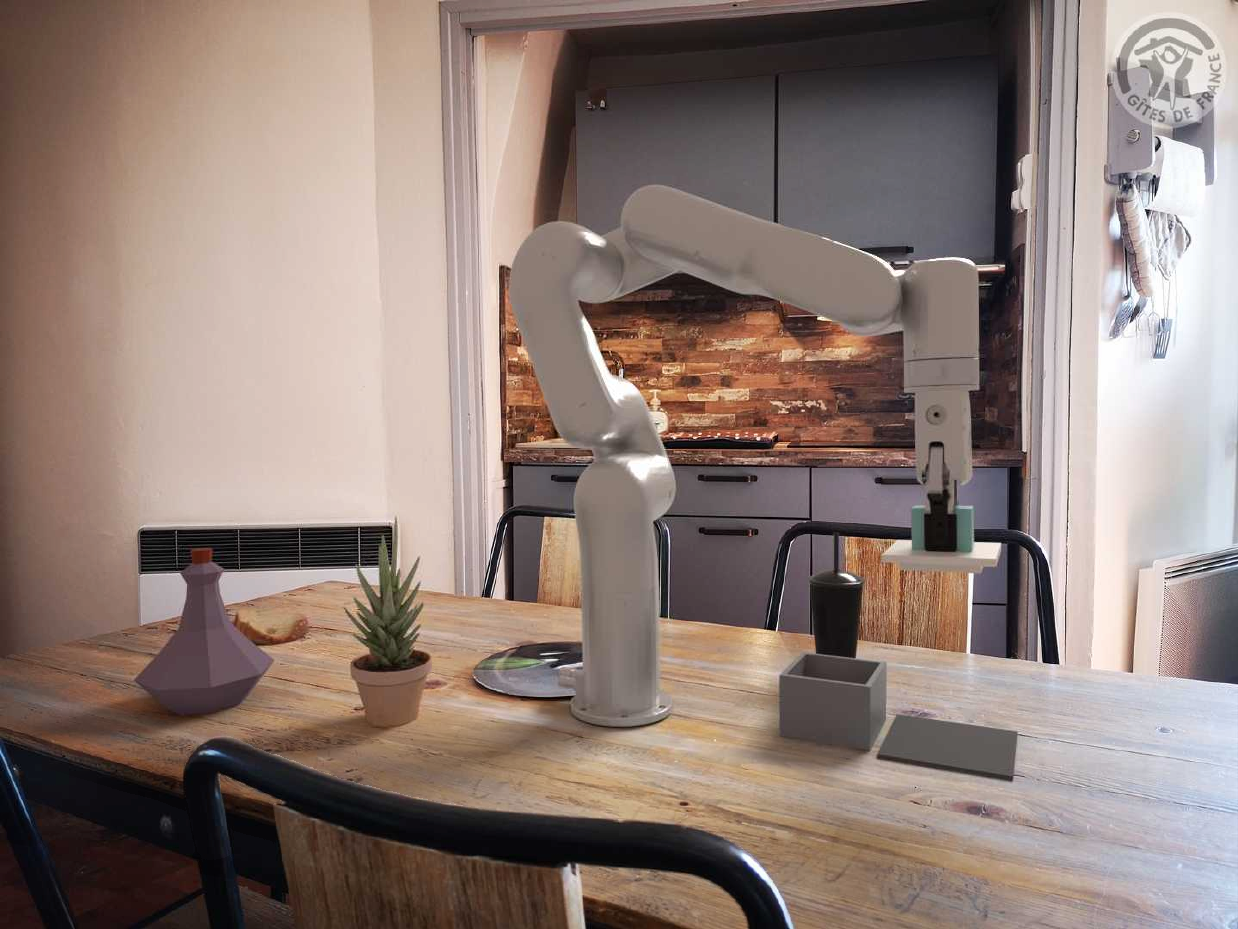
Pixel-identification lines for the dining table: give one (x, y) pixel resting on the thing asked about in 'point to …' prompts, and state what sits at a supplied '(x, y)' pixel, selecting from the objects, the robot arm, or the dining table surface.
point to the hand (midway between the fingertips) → (942, 547)
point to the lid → (961, 561)
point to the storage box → (833, 700)
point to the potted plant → (389, 647)
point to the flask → (204, 650)
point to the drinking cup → (836, 609)
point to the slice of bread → (271, 626)
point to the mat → (951, 746)
